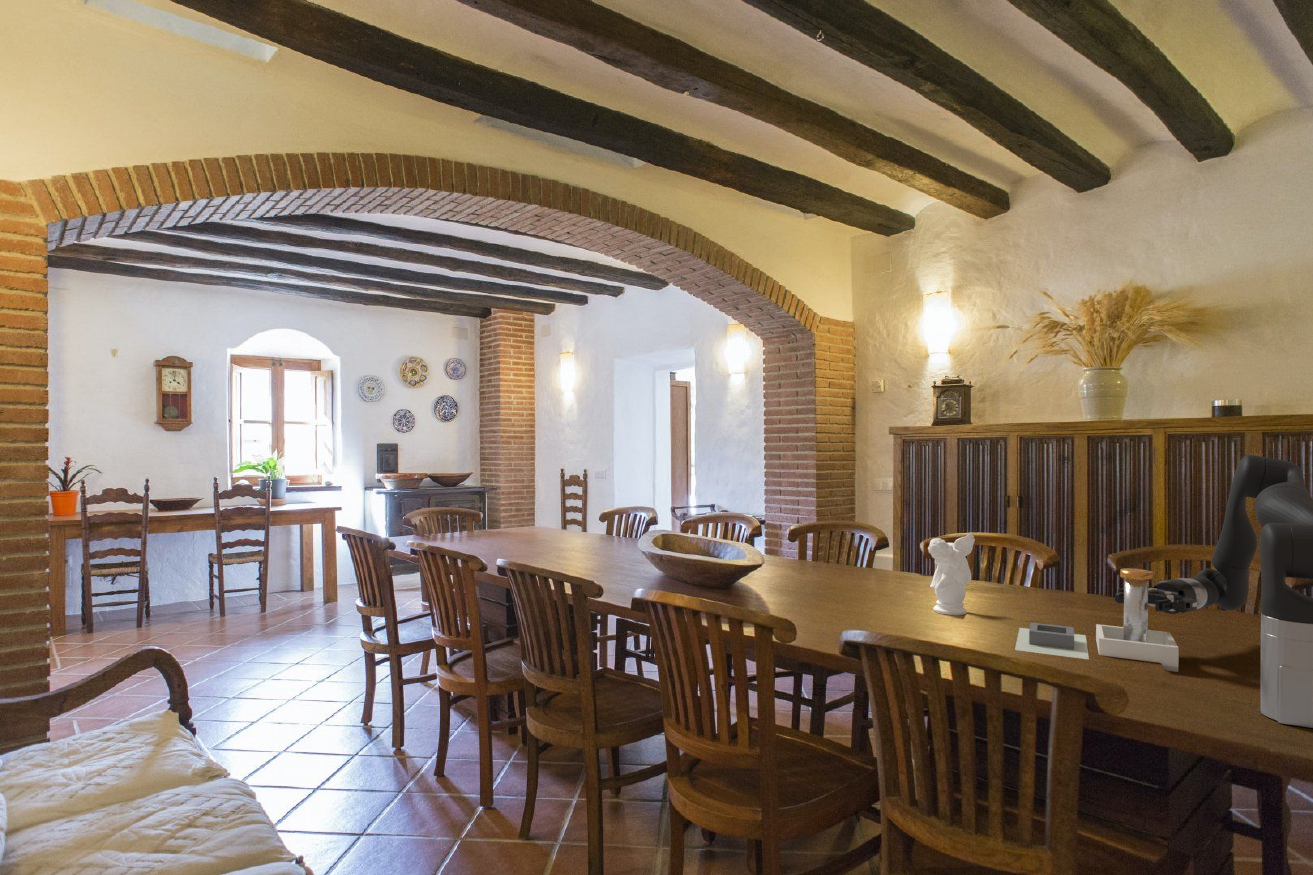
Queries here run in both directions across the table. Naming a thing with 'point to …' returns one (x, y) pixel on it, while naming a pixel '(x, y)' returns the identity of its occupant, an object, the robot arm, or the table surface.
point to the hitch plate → (1052, 641)
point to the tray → (1138, 646)
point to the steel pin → (1135, 603)
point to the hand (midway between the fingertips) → (1136, 602)
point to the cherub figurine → (951, 573)
